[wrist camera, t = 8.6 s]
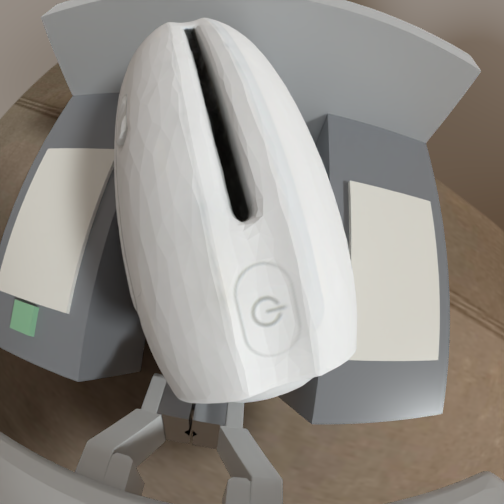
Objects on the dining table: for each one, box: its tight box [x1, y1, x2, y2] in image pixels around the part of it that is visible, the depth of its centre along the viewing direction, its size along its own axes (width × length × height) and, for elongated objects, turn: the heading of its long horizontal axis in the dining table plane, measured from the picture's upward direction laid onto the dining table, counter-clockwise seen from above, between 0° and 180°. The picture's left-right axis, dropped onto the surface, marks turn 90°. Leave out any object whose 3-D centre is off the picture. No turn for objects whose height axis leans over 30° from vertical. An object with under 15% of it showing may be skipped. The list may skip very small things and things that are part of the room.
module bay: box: [0, 0, 481, 424], centre depth 10 cm, size 17×13×12 cm
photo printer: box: [114, 18, 357, 404], centre depth 10 cm, size 10×4×12 cm, turn 15°
